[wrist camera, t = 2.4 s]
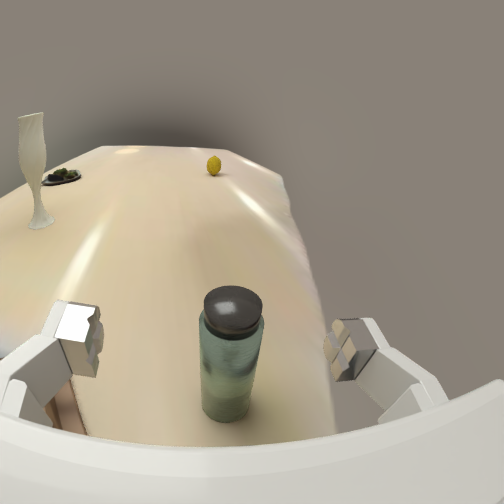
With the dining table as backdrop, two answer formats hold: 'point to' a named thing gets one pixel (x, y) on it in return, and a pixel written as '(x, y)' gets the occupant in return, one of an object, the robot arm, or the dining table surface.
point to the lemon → (214, 165)
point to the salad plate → (61, 177)
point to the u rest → (65, 410)
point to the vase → (34, 164)
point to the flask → (229, 351)
